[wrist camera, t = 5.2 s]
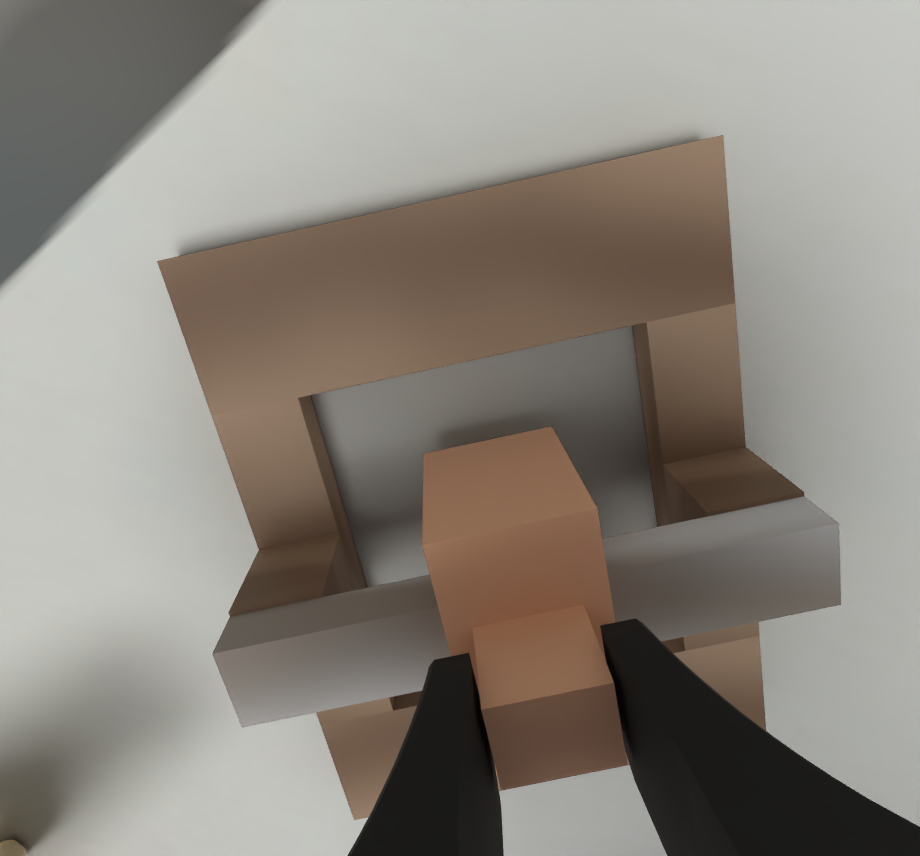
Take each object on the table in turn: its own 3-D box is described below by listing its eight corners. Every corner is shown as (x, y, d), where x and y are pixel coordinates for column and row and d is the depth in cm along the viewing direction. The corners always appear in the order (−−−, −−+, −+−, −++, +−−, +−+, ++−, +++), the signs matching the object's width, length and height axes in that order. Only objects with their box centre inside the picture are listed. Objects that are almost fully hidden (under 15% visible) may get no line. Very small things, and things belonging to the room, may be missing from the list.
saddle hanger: (584, 615, 17) (670, 841, 11) (469, 639, 17) (492, 877, 11) (551, 426, 15) (632, 571, 9) (423, 453, 15) (421, 615, 9)
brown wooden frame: (747, 706, 20) (846, 863, 15) (358, 785, 20) (337, 963, 15) (699, 140, 15) (828, 110, 10) (177, 256, 15) (62, 281, 10)
